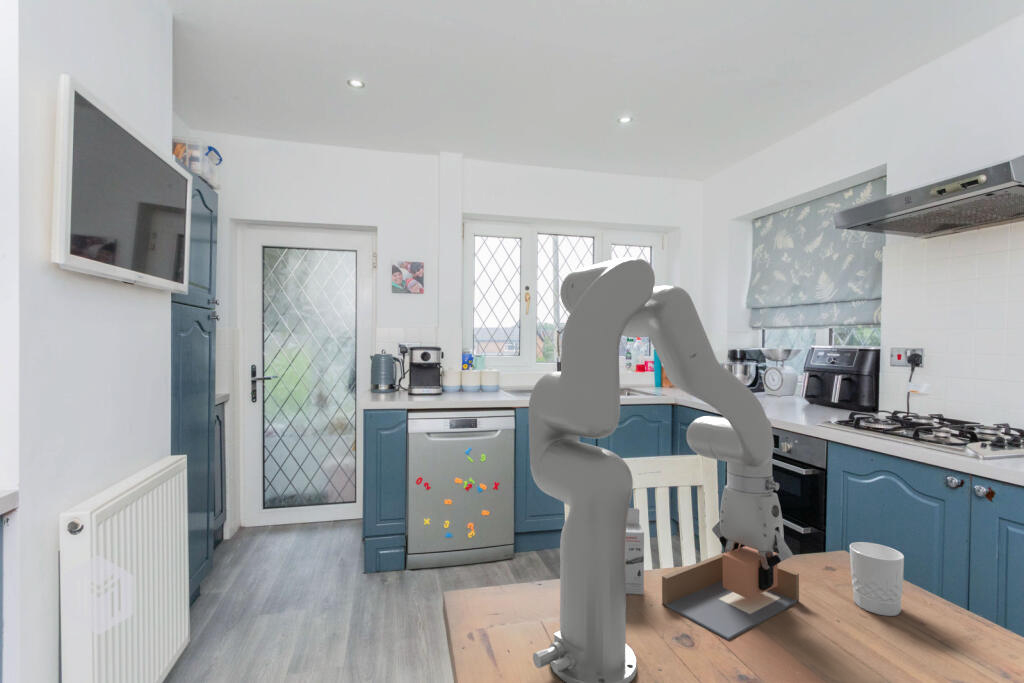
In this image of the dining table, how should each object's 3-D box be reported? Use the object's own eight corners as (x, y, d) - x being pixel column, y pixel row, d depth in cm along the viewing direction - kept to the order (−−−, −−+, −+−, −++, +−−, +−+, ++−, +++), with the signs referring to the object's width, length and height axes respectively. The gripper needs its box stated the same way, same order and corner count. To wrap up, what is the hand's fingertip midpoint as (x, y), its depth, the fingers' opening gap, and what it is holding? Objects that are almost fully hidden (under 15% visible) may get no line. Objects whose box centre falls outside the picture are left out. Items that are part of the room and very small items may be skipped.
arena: (728, 640, 77) (728, 608, 77) (662, 604, 88) (662, 576, 88) (799, 601, 89) (798, 573, 89) (733, 573, 100) (733, 549, 100)
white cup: (915, 613, 85) (914, 555, 85) (886, 622, 82) (885, 563, 82) (867, 592, 92) (867, 539, 93) (839, 599, 89) (839, 545, 90)
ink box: (598, 593, 92) (598, 514, 92) (596, 580, 97) (596, 506, 97) (644, 595, 91) (644, 516, 91) (640, 582, 96) (640, 507, 96)
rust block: (777, 586, 89) (777, 553, 89) (748, 599, 85) (747, 564, 85) (752, 575, 94) (751, 543, 94) (722, 586, 89) (722, 554, 89)
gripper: (808, 490, 84) (809, 595, 84) (719, 470, 99) (720, 560, 98) (785, 498, 80) (786, 608, 80) (696, 475, 94) (697, 569, 94)
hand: (750, 580), depth 89 cm, fingers closed on rust block, 5 cm apart
